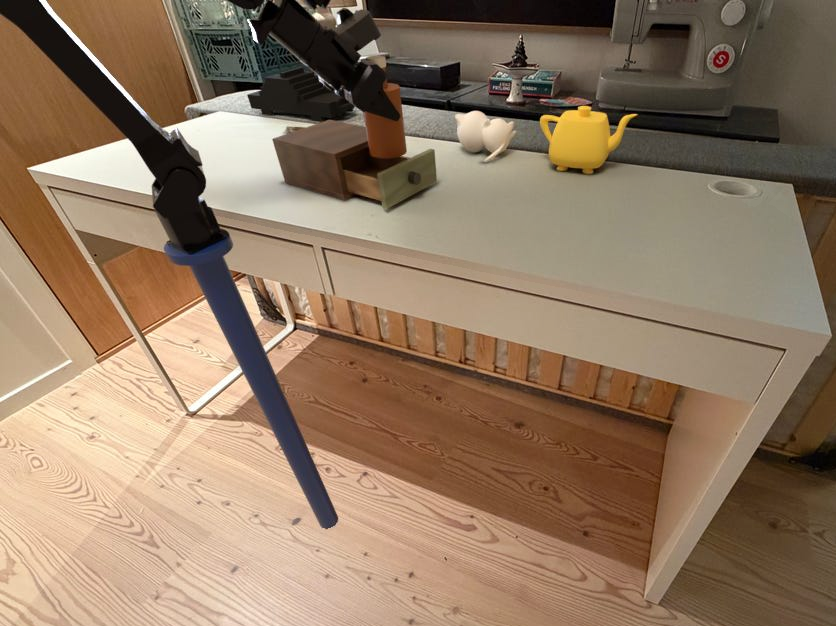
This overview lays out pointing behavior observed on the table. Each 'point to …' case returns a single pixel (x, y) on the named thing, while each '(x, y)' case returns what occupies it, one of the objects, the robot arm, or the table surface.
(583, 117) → the teapot
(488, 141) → the cat figurine
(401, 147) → the bottle
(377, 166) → the drawer
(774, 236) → the table surface
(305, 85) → the black angular piece
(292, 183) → the cabinet
